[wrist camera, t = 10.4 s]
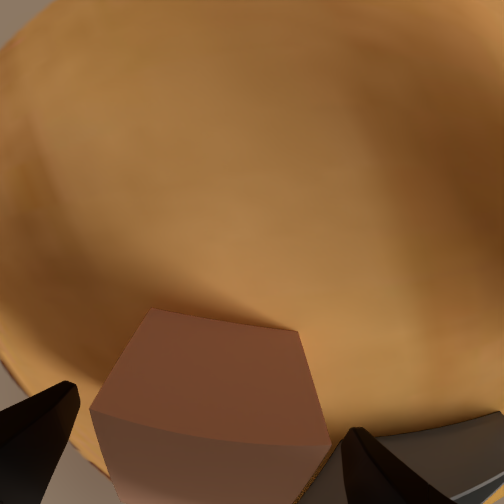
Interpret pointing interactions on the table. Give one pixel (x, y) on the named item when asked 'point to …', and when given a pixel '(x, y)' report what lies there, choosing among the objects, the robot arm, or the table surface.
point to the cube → (209, 414)
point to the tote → (434, 461)
